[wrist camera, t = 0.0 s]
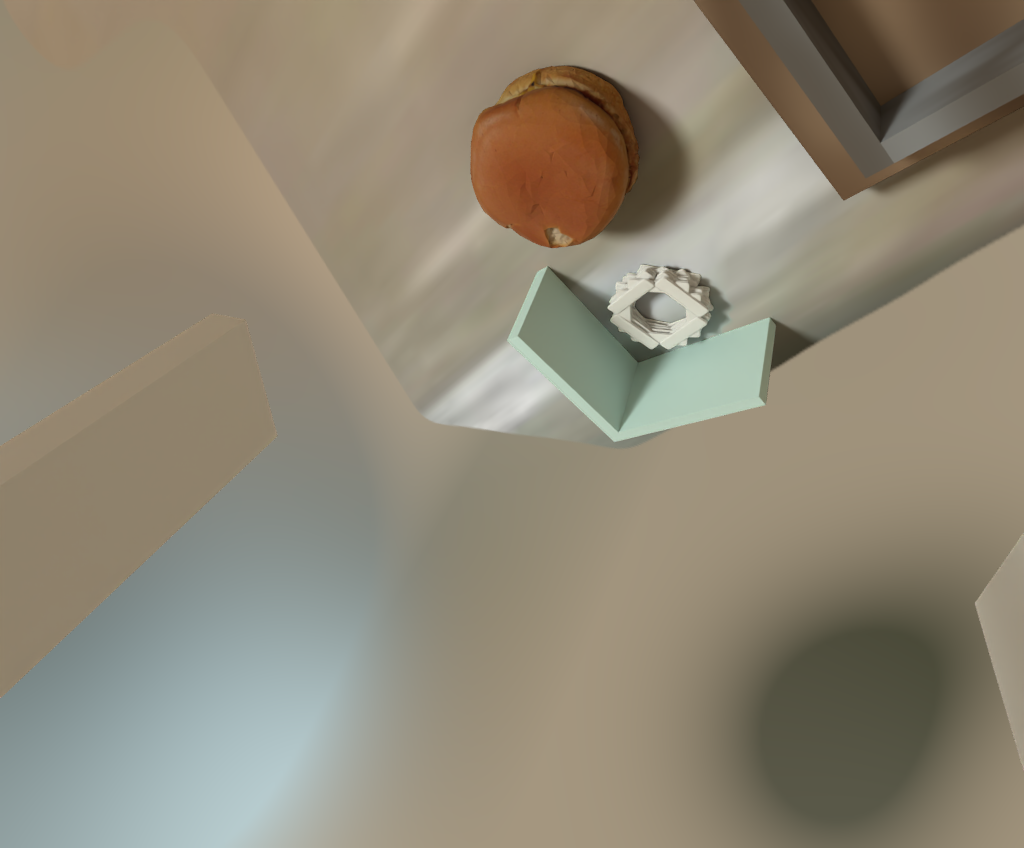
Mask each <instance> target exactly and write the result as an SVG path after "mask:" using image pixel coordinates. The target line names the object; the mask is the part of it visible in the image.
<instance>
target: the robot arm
mask: <svg viewBox="0 0 1024 848" xmlns="http://www.w3.org/2000/svg"><path fill="white" fill-rule="evenodd" d="M276 437H277V432H276V428H275V425H274V421H273V417H272V414H271V410H270V406H269V403H268V399H267V395H266V392H265V388H264V384H263V381H262V377H261V373H260V370H259V366H258V362H257V359H256V355H255V351H254V348H253V344H252V340H251V337H250V333H249V330H248V326H247V322H246V320H245V319H239V318H234V317H228V316H223V315H218V314H211V315H209V316H208V317H206V318H204V319H203V320H201V321H200V322H198V323H196V324H195V325H193V326H192V327H190V328H188V329H187V330H186V331H184V332H182V333H180V334H179V335H177V336H176V337H174V338H173V339H171V340H169V341H168V342H166V343H165V344H163V345H161V346H160V347H158V348H156V349H155V350H153V351H152V352H150V353H148V354H147V355H145V356H144V357H142V358H140V359H139V360H137V361H136V362H134V363H132V364H131V365H129V366H128V367H126V368H124V369H123V370H121V371H120V372H118V373H116V374H115V375H113V376H112V377H110V378H108V379H107V380H105V381H104V382H102V383H100V384H99V385H97V386H96V387H94V388H92V389H91V390H89V391H88V392H86V393H85V394H83V395H81V396H80V397H78V398H76V399H75V400H73V401H72V402H70V403H68V404H67V405H65V406H64V407H62V408H60V409H59V410H57V411H56V412H54V413H52V414H51V415H49V416H48V417H46V418H45V419H43V420H41V421H40V422H38V423H37V424H35V425H33V426H32V427H30V428H29V429H27V430H26V431H24V432H22V433H20V434H19V435H17V436H16V437H14V438H12V439H11V440H9V441H8V442H6V443H4V444H3V445H1V446H0V698H1V697H2V696H3V695H4V694H5V693H7V692H8V691H9V690H10V689H11V688H12V687H13V686H14V685H15V684H16V683H17V682H18V681H19V680H20V679H21V678H22V677H23V676H25V674H27V673H28V672H29V671H30V670H31V669H32V668H33V667H34V666H35V665H36V664H37V663H38V662H39V661H40V660H41V659H42V658H44V656H46V655H47V654H48V653H49V652H50V651H51V650H52V649H53V648H54V647H55V646H56V645H57V644H58V643H59V642H60V641H61V640H62V639H64V638H65V637H66V636H67V635H68V634H69V633H70V632H71V631H72V630H73V629H74V628H75V627H76V626H77V625H78V624H79V623H81V621H83V620H84V619H85V618H86V617H87V616H88V615H89V614H90V613H91V612H92V611H93V610H94V609H95V608H96V607H97V606H98V605H100V604H101V603H102V602H103V601H104V600H105V599H106V598H107V597H108V596H109V595H110V594H111V593H112V592H113V591H114V590H115V589H116V588H118V587H119V586H120V585H121V584H122V583H123V582H124V581H125V580H126V579H127V578H128V577H129V576H130V575H131V574H132V573H133V572H134V571H135V570H136V569H138V568H139V567H140V566H141V565H142V564H143V563H144V562H145V561H146V560H147V559H148V558H149V557H150V556H151V555H152V554H153V553H154V552H156V551H157V550H158V549H159V548H160V547H161V546H162V545H163V544H164V543H165V542H166V541H167V540H168V539H169V538H170V537H171V536H172V535H174V534H175V533H176V532H177V531H178V530H179V529H180V528H181V527H182V526H183V525H184V524H185V523H186V522H187V521H188V520H189V519H190V518H191V517H192V516H194V515H195V514H196V513H197V512H198V511H199V510H200V509H201V508H202V507H203V506H204V505H205V504H206V503H207V502H208V501H209V500H210V499H212V498H213V497H214V496H215V495H216V494H217V493H218V492H219V491H220V490H221V489H222V488H223V487H224V486H225V485H226V484H227V483H228V482H230V481H231V480H232V479H233V478H234V477H235V476H236V475H237V474H238V473H239V472H240V471H241V470H242V469H243V468H244V467H245V466H246V465H248V464H249V463H250V462H251V461H252V460H253V459H254V458H255V457H256V456H257V455H258V454H259V453H260V452H261V451H262V450H263V449H264V448H265V447H267V445H269V444H270V443H271V442H272V441H273V440H274V439H275V438H276ZM975 605H976V609H977V613H978V616H979V619H980V623H981V626H982V630H983V633H984V637H985V640H986V643H987V647H988V650H989V654H990V657H991V661H992V664H993V667H994V671H995V674H996V678H997V681H998V685H999V688H1000V692H1001V695H1002V698H1003V702H1004V705H1005V708H1006V712H1007V715H1008V719H1009V722H1010V726H1011V729H1012V733H1013V736H1014V740H1015V743H1016V746H1017V749H1018V753H1019V757H1020V760H1021V763H1022V767H1023V770H1024V533H1023V534H1022V536H1021V537H1020V539H1019V540H1018V542H1017V543H1016V545H1015V546H1014V547H1013V549H1012V550H1011V552H1010V553H1009V555H1008V556H1007V558H1006V559H1005V561H1004V562H1003V563H1002V565H1001V566H1000V568H999V569H998V571H997V572H996V573H995V575H994V576H993V578H992V579H991V581H990V582H989V584H988V585H987V587H986V588H985V590H984V591H983V592H982V594H981V595H980V597H979V598H978V600H977V601H976V602H975Z"/></svg>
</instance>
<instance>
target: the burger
mask: <svg viewBox="0 0 1024 848" xmlns="http://www.w3.org/2000/svg"><path fill="white" fill-rule="evenodd" d="M638 149H639V147H638V143H637V140H636V138H635V136H634V130H633V126H632V124H631V121H630V118H629V115H628V113H627V111H626V109H625V107H624V105H623V100H622V98H621V96H620V94H619V93H618V91H617V90H616V89H615V88H614V87H613V86H612V85H611V84H610V83H608V82H606V81H605V80H603V79H601V78H599V77H597V76H596V75H594V74H592V73H590V72H587V71H585V70H582V69H579V68H575V67H569V66H556V67H553V66H551V67H546V68H543V69H537V70H534V71H532V72H530V73H528V74H526V75H523V76H521V77H519V78H517V79H516V80H514V81H513V82H512V83H511V84H510V85H509V86H508V87H507V88H506V89H505V91H504V92H503V94H502V96H501V97H500V99H499V101H498V102H497V103H496V105H495V106H493V107H489V108H487V109H485V110H483V112H482V113H481V114H480V115H479V116H478V119H477V121H476V123H475V126H474V129H473V135H472V141H471V180H472V184H473V188H474V191H475V194H476V197H477V200H478V201H479V203H480V205H481V207H482V209H483V210H484V212H485V213H487V214H488V215H489V216H490V217H491V218H492V219H493V220H495V221H496V222H497V223H498V224H499V225H501V226H503V227H505V228H511V229H513V230H514V231H515V232H516V233H518V234H519V235H520V236H522V237H524V238H526V239H528V240H530V241H532V242H533V243H536V244H538V245H541V246H545V247H550V248H558V247H567V246H573V245H578V244H581V243H583V242H586V241H588V240H590V239H592V238H594V237H595V236H597V235H598V234H599V233H600V232H602V231H603V230H604V228H605V227H606V226H607V225H608V224H609V223H610V221H611V220H612V219H613V217H614V216H615V215H616V213H617V211H618V209H619V208H620V206H621V204H622V202H623V200H624V196H625V195H626V193H628V192H630V190H631V188H632V186H633V184H634V183H635V182H636V180H637V178H638V165H639V164H638V161H639V155H638Z"/></svg>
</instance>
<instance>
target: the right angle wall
mask: <svg viewBox="0 0 1024 848" xmlns="http://www.w3.org/2000/svg"><path fill="white" fill-rule="evenodd" d="M700 278H701V275H700V274H695V273H690V272H686V271H685V270H684V269H680V270H672V269H669V268H666V267H655V266H649V265H640V268H639V269H638V271H637V274H635V273H627V275H626V276H624V277H623V279H622V282H617V283H616V287H615V288H616V294H615V295H614V296H612V298H611V299H610V301H609V303H610V305H609V306H608V309H609V310H610V311H612V312H613V315H612V316H613V317H611V319H610V322H611V323H613V324H614V325H616V326H617V327H618V331H619V332H626V333H627V334H629V335H630V336H631V340H632V341H635V342H640V343H642V344H643V345H645V346H646V347H648V348H649V349H654V348H655V347H656V346H658V345H659V344H660V345H661V346H663V347H664V348H666V349H668V350H670V349H672V348H673V347H675V346H676V345H681V346H685V347H682V348H679V349H676V350H673V351H670V352H667V353H665V354H662V355H659V356H656V357H653V358H650V359H647V360H644V361H641V362H637V361H636V360H635V359H634V358H633V357H632V356H631V355H630V354H629V352H628V351H627V350H626V349H625V348H624V347H623V346H622V345H621V344H620V343H619V342H618V341H617V340H616V339H615V338H614V336H613V335H612V334H611V333H610V332H609V331H608V330H607V329H606V328H605V327H604V326H603V325H602V324H601V323H600V322H599V320H598V319H597V318H596V317H595V316H594V315H593V314H592V313H591V312H590V311H589V310H588V309H587V308H586V307H585V306H584V305H583V303H582V302H581V301H580V300H579V299H578V298H577V297H576V296H575V295H574V294H573V293H572V292H571V291H570V290H569V289H568V287H567V286H566V285H565V284H564V283H563V282H562V281H561V280H560V279H559V278H558V277H557V276H556V275H555V274H554V273H553V271H552V270H551V269H550V268H549V267H548V266H547V267H545V268H544V269H542V270H540V271H538V272H537V274H536V276H535V278H534V281H533V283H532V285H531V288H530V290H529V292H528V294H527V297H526V299H525V301H524V303H523V306H522V308H521V310H520V313H519V315H518V317H517V319H516V322H515V324H514V326H513V328H512V331H511V333H510V335H509V338H508V340H507V341H508V342H509V343H510V344H511V345H512V346H513V347H514V348H515V349H516V350H517V351H518V352H519V353H520V354H522V355H523V356H524V357H525V358H526V359H527V360H528V361H529V362H530V363H531V364H532V365H533V366H534V367H535V368H536V369H537V370H539V371H540V372H541V373H542V374H543V375H544V376H545V377H546V378H547V379H548V380H549V381H550V382H551V383H552V384H553V385H554V386H556V387H557V388H558V389H559V390H560V391H561V392H562V393H563V394H564V395H565V396H566V397H567V398H568V399H569V400H570V401H571V402H573V403H574V404H575V405H576V406H577V407H578V408H579V409H580V410H581V411H582V412H583V413H584V414H585V415H586V416H587V417H588V418H590V419H591V420H592V421H593V422H594V423H595V424H596V425H597V426H598V427H599V428H600V429H601V430H602V431H603V432H604V433H605V434H607V435H608V436H609V437H610V438H611V439H612V440H613V441H614V442H616V441H620V440H624V439H628V438H633V437H637V436H641V435H645V434H649V433H653V432H657V431H661V430H665V429H669V428H674V427H678V426H682V425H686V424H690V423H694V422H698V421H702V420H706V419H711V418H714V417H718V416H723V415H727V414H731V413H735V412H739V411H743V410H747V409H752V408H755V407H759V406H764V405H766V400H767V392H768V384H769V377H770V369H771V361H772V354H773V346H774V338H775V331H776V325H775V323H774V322H773V321H772V319H771V318H770V317H769V318H766V319H763V320H760V321H758V322H755V323H752V324H749V325H746V326H743V327H740V328H737V329H734V330H731V331H728V332H726V333H723V334H720V335H717V336H714V337H711V338H708V339H705V340H702V341H699V342H697V343H694V344H691V345H688V346H686V345H687V340H688V337H700V333H701V330H702V328H703V327H704V326H706V325H707V323H708V322H707V321H709V320H710V318H711V314H710V313H709V312H710V311H712V310H713V309H714V307H713V306H712V304H711V303H710V299H708V297H709V291H710V288H709V287H704V286H697V285H698V284H699V282H700ZM647 292H657V293H665V294H667V295H668V296H669V297H671V298H672V299H674V300H675V301H676V302H678V303H679V304H680V305H682V306H683V307H685V308H686V318H684V319H681V320H678V321H676V322H673V323H668V322H662V321H657V320H652V319H646V318H644V317H643V316H642V315H641V314H640V313H639V312H638V310H637V309H636V308H635V302H636V300H638V299H639V298H640V297H641V296H643V295H644V294H645V293H647Z"/></svg>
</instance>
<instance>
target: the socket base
mask: <svg viewBox="0 0 1024 848" xmlns="http://www.w3.org/2000/svg"><path fill="white" fill-rule="evenodd" d="M694 2H695V3H696V4H697V6H698V7H699V8H700V10H701V11H702V12H703V14H704V15H705V16H706V18H707V19H708V20H709V22H710V23H711V24H712V26H713V27H714V28H715V30H716V31H717V32H718V34H719V35H720V36H721V38H722V39H723V40H724V42H725V43H726V44H727V46H728V47H729V48H730V50H731V51H732V52H733V54H734V55H735V56H736V58H737V59H738V60H739V62H740V63H741V64H742V66H743V67H744V68H745V70H746V71H747V72H748V74H749V75H750V76H751V78H752V79H753V80H754V82H755V83H756V84H757V86H758V87H759V88H760V90H761V91H762V92H763V94H764V95H765V96H766V98H767V99H768V100H769V102H770V103H771V104H772V106H773V107H774V108H775V110H776V111H777V112H778V114H779V115H780V116H781V118H782V119H783V120H784V122H785V123H786V124H787V126H788V127H789V128H790V130H791V131H792V132H793V134H794V135H795V136H796V138H797V139H798V140H799V142H800V143H801V144H802V146H803V147H804V148H805V150H806V151H807V152H808V154H809V155H810V156H811V158H812V159H813V160H814V162H815V163H816V164H817V166H818V167H819V168H820V170H821V171H822V172H823V174H824V175H825V176H826V178H827V179H828V180H829V182H830V183H831V184H832V186H833V187H834V188H835V190H836V191H837V192H838V194H839V195H840V196H841V198H842V199H843V200H846V199H848V198H850V197H852V196H853V195H855V194H857V193H859V192H861V191H863V190H865V189H867V188H869V187H871V186H873V185H874V184H876V183H878V182H880V181H882V180H884V179H886V178H888V177H890V176H892V175H894V174H895V173H897V172H899V171H901V170H903V169H905V168H907V167H909V166H911V165H913V164H915V163H916V162H918V161H920V160H922V159H924V158H926V157H928V156H930V155H932V154H934V153H936V152H937V151H939V150H941V149H943V148H945V147H947V146H949V145H951V144H953V143H955V142H957V141H958V140H960V139H962V138H964V137H966V136H968V135H970V134H972V133H974V132H976V131H978V130H979V129H981V128H983V127H985V126H987V125H989V124H991V123H993V122H995V121H997V120H999V119H1000V118H1002V117H1004V116H1006V115H1008V114H1010V113H1012V112H1014V111H1016V110H1018V109H1020V108H1021V107H1023V106H1024V0H694Z"/></svg>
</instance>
